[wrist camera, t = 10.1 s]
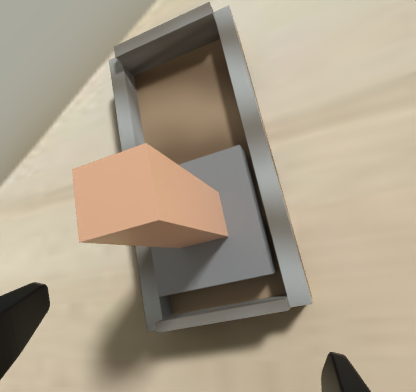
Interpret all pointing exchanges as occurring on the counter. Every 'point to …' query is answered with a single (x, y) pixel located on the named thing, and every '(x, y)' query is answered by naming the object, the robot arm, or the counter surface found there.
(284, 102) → the counter surface
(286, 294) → the rail
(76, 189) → the carriage
